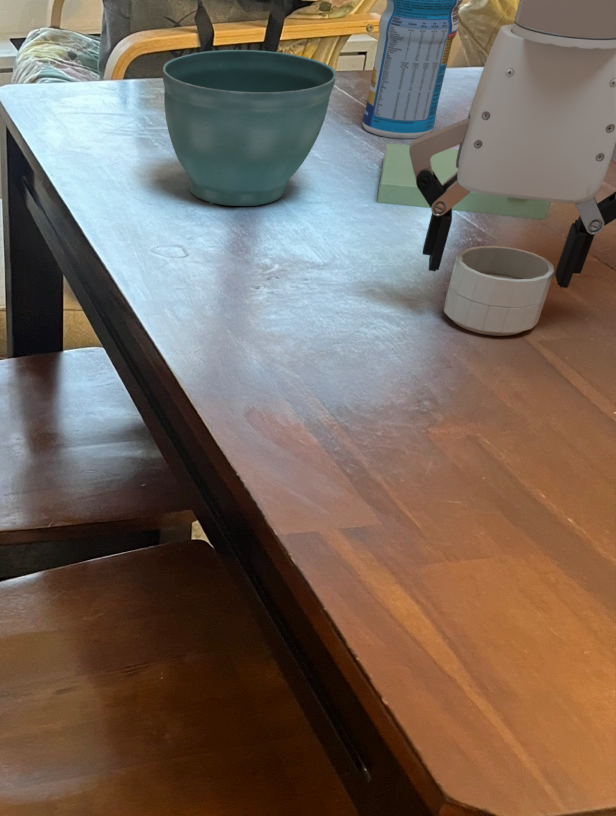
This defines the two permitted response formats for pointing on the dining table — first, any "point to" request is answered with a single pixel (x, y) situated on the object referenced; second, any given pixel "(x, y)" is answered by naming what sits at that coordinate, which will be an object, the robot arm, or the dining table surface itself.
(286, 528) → the dining table surface
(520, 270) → the bowl
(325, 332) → the dining table surface
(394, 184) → the pale green flat block
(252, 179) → the flower pot
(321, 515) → the dining table surface
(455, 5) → the beverage bottle
